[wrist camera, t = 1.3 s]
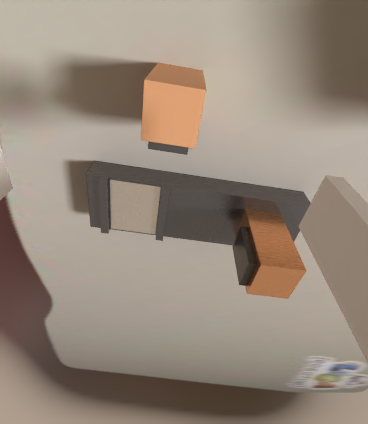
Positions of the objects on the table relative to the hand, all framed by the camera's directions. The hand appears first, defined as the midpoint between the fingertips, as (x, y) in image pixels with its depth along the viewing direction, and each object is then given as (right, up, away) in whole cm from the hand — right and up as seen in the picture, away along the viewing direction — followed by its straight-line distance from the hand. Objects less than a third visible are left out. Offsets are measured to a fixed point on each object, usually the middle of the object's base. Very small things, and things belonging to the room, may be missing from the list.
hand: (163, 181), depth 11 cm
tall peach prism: (0, +10, +13) cm, 17 cm away
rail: (+2, 0, +21) cm, 21 cm away
